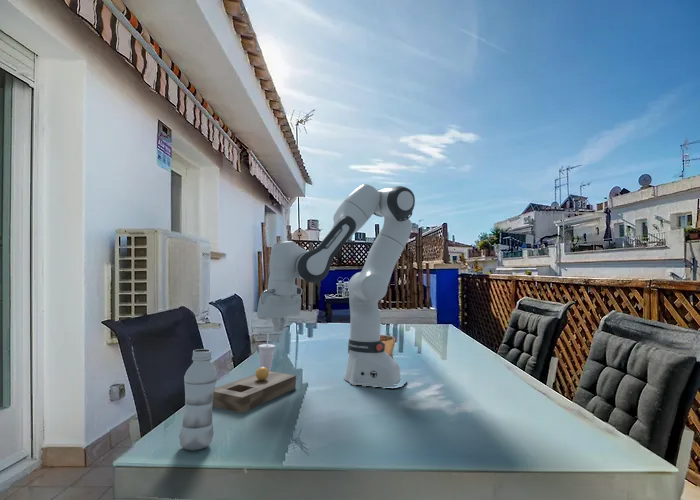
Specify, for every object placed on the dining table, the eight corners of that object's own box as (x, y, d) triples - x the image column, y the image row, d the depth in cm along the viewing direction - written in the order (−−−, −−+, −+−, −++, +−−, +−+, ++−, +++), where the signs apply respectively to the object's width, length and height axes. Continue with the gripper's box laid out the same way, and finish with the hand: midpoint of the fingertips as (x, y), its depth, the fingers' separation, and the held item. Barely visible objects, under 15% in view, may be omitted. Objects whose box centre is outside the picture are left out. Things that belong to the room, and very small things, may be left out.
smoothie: (276, 369, 145) (278, 333, 146) (271, 374, 139) (273, 335, 140) (260, 368, 146) (262, 332, 147) (254, 373, 139) (256, 334, 140)
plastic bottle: (184, 440, 82) (190, 347, 83) (216, 440, 82) (222, 348, 84) (173, 454, 75) (180, 353, 77) (208, 454, 76) (214, 354, 77)
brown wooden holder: (295, 388, 123) (295, 375, 123) (241, 413, 99) (242, 397, 99) (265, 382, 128) (266, 370, 128) (207, 405, 104) (208, 390, 104)
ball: (271, 379, 117) (271, 366, 118) (263, 382, 114) (263, 369, 114) (260, 377, 119) (261, 364, 119) (252, 380, 115) (253, 367, 116)
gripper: (270, 290, 115) (267, 336, 114) (305, 289, 133) (302, 328, 132) (253, 289, 117) (250, 333, 116) (290, 288, 136) (287, 327, 135)
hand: (278, 331), depth 124 cm, fingers closed
